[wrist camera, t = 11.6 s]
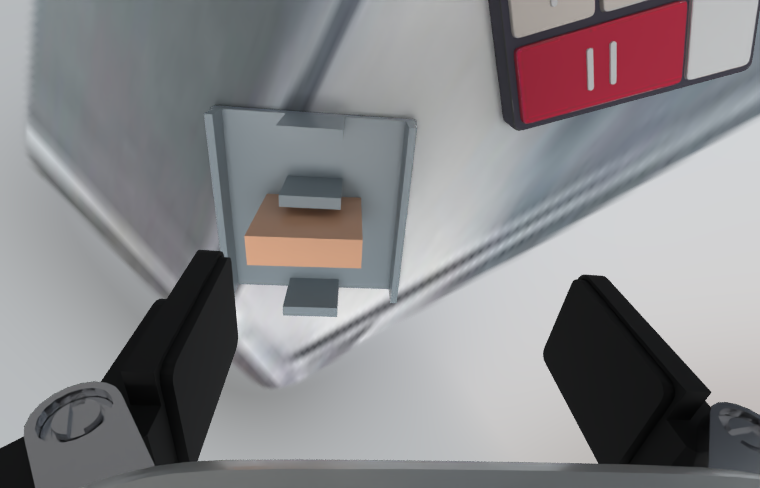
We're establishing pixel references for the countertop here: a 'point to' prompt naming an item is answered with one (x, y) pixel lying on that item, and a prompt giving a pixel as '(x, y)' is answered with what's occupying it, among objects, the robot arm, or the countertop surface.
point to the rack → (312, 191)
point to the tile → (305, 235)
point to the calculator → (612, 51)
